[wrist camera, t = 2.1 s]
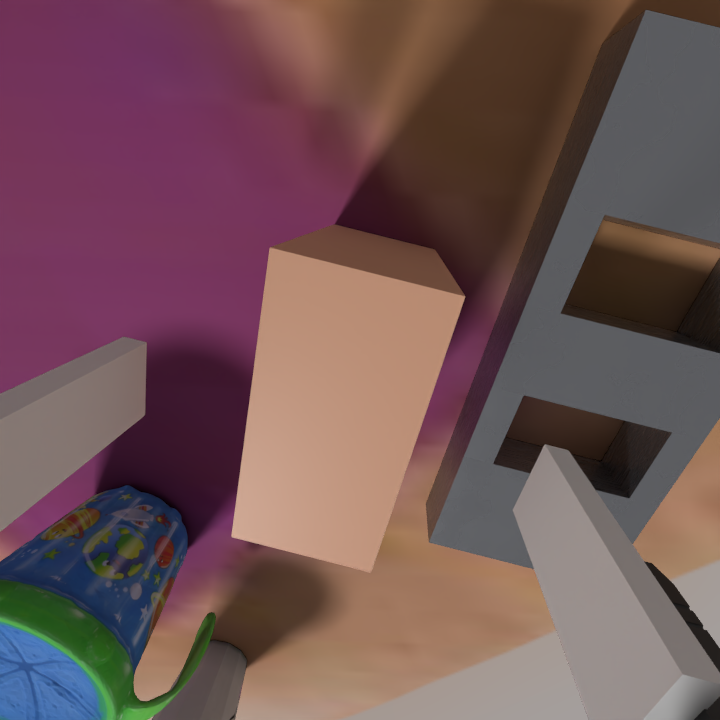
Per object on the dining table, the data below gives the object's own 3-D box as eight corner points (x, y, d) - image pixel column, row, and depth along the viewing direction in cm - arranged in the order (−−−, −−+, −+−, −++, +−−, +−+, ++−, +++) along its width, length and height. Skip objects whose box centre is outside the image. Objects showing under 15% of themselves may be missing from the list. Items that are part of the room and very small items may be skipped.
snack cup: (17, 505, 29) (-172, 654, 19) (70, 411, 25) (-132, 539, 15) (197, 614, 31) (109, 792, 22) (270, 543, 27) (201, 722, 18)
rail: (602, 43, 15) (645, 9, 13) (851, 105, 15) (950, 84, 13) (426, 504, 25) (428, 542, 22) (580, 543, 25) (602, 586, 22)
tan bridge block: (334, 224, 19) (269, 247, 10) (434, 249, 19) (465, 296, 10) (300, 401, 23) (231, 537, 14) (383, 422, 23) (370, 572, 14)
